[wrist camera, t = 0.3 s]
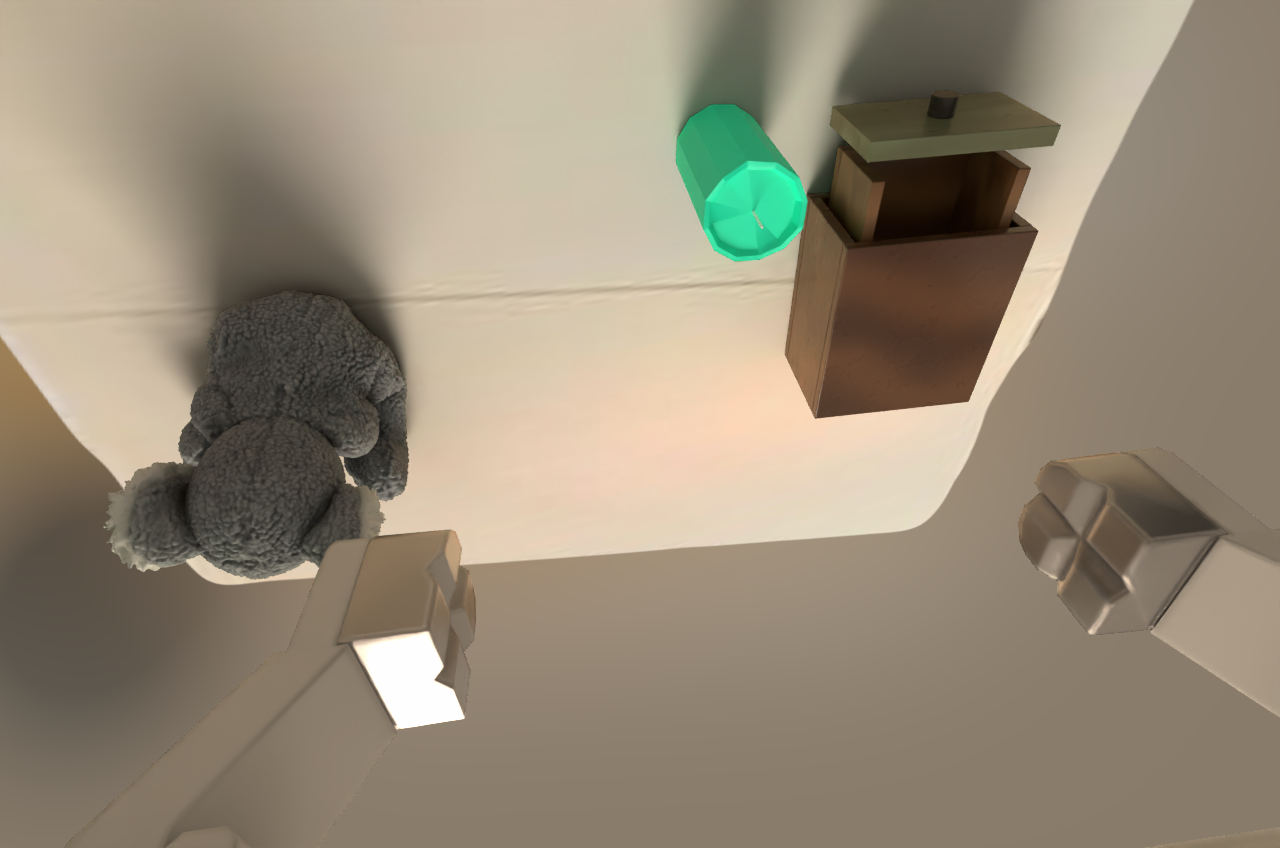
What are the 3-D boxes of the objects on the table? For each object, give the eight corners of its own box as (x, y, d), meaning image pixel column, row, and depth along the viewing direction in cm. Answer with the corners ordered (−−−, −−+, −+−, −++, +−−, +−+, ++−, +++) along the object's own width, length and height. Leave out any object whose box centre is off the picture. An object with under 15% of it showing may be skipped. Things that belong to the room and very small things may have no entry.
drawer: (835, 85, 40) (875, 119, 35) (1006, 71, 41) (1070, 102, 36) (805, 287, 50) (833, 335, 45) (942, 273, 51) (985, 319, 46)
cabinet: (806, 193, 46) (847, 249, 40) (972, 178, 47) (1039, 230, 40) (784, 354, 56) (814, 419, 50) (921, 340, 57) (968, 402, 50)
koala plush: (202, 429, 55) (81, 637, 40) (184, 246, 44) (8, 441, 29) (411, 463, 60) (369, 656, 46) (441, 307, 49) (398, 497, 35)
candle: (775, 116, 42) (835, 187, 33) (741, 201, 46) (787, 285, 37) (691, 91, 40) (732, 159, 32) (663, 181, 44) (692, 264, 35)
